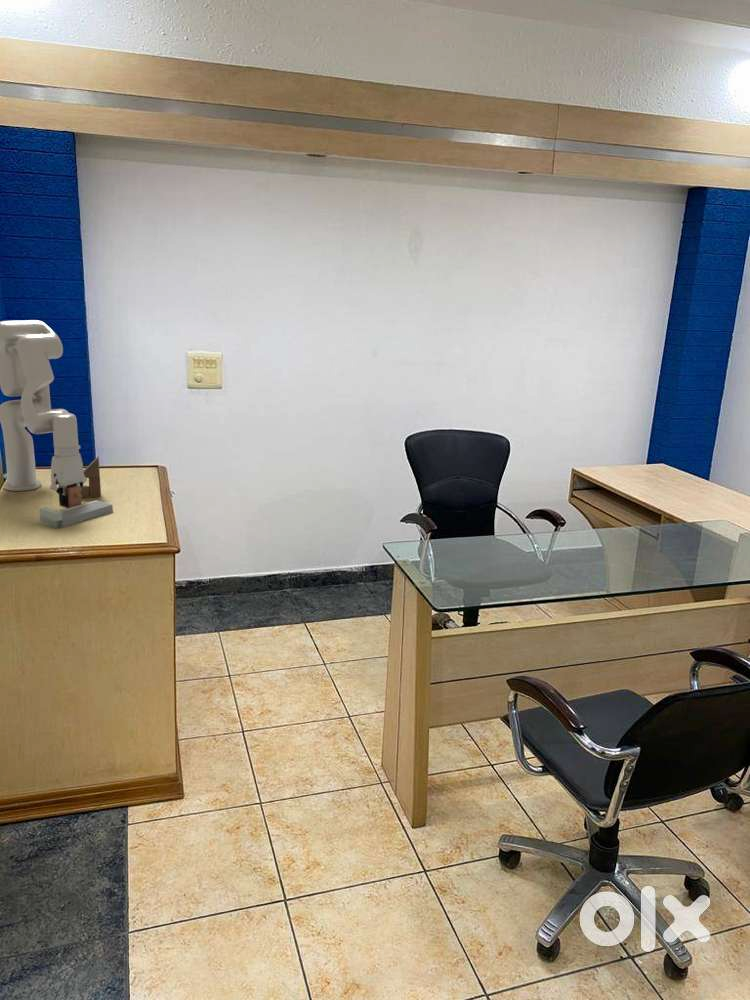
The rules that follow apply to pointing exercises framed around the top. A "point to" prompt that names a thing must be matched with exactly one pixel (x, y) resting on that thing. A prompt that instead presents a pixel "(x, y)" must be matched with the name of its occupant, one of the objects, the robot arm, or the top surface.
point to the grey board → (74, 514)
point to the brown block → (72, 496)
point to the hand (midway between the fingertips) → (70, 503)
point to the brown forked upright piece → (92, 480)
